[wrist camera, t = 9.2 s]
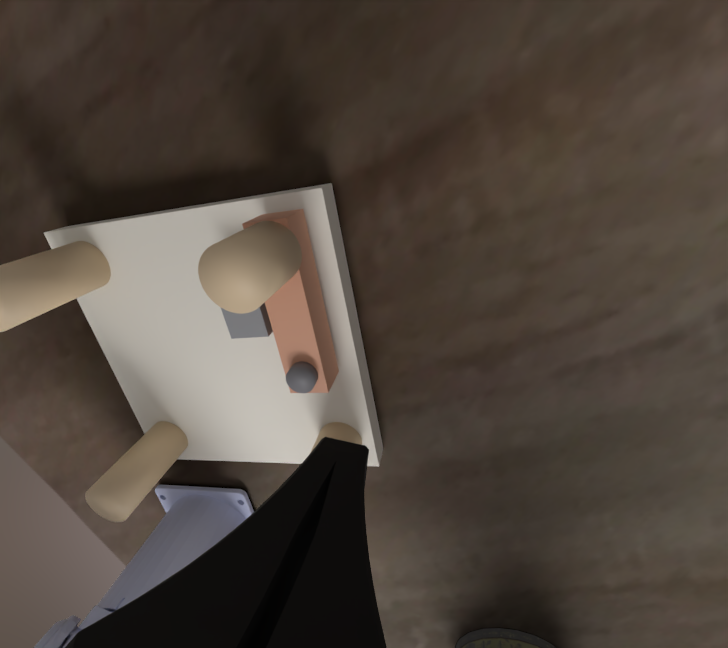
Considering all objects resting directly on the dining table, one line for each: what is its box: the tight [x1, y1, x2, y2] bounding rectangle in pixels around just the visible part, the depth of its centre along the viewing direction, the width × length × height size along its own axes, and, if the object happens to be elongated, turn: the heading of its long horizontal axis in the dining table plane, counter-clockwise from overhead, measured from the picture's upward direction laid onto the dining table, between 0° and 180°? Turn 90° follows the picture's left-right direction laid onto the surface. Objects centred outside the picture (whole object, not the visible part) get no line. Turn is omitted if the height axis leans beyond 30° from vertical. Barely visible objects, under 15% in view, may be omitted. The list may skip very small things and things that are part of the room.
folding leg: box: [198, 209, 339, 393], centre depth 17 cm, size 8×3×5 cm, turn 10°
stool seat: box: [0, 183, 383, 522], centre depth 21 cm, size 16×16×7 cm
